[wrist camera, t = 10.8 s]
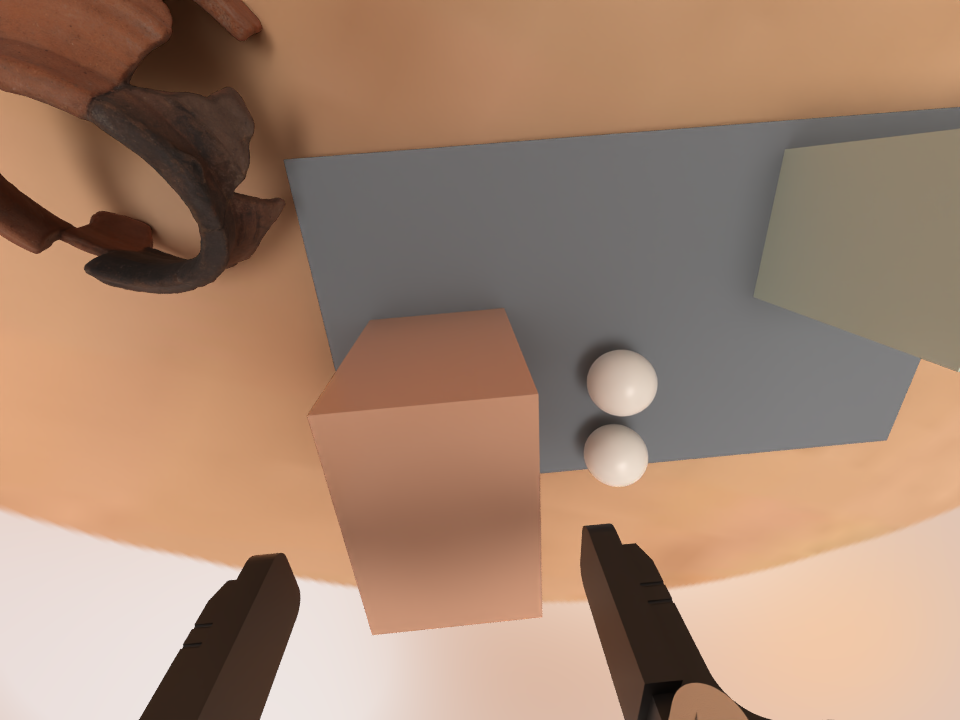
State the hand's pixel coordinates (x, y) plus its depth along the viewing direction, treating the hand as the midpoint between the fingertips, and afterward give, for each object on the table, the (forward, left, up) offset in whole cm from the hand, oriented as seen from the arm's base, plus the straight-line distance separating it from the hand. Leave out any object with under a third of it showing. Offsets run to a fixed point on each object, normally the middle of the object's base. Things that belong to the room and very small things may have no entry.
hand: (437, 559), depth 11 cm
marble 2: (+3, +8, -9) cm, 13 cm away
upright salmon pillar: (0, 0, -9) cm, 9 cm away
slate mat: (-3, +10, -10) cm, 14 cm away
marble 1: (-1, +8, -9) cm, 12 cm away
